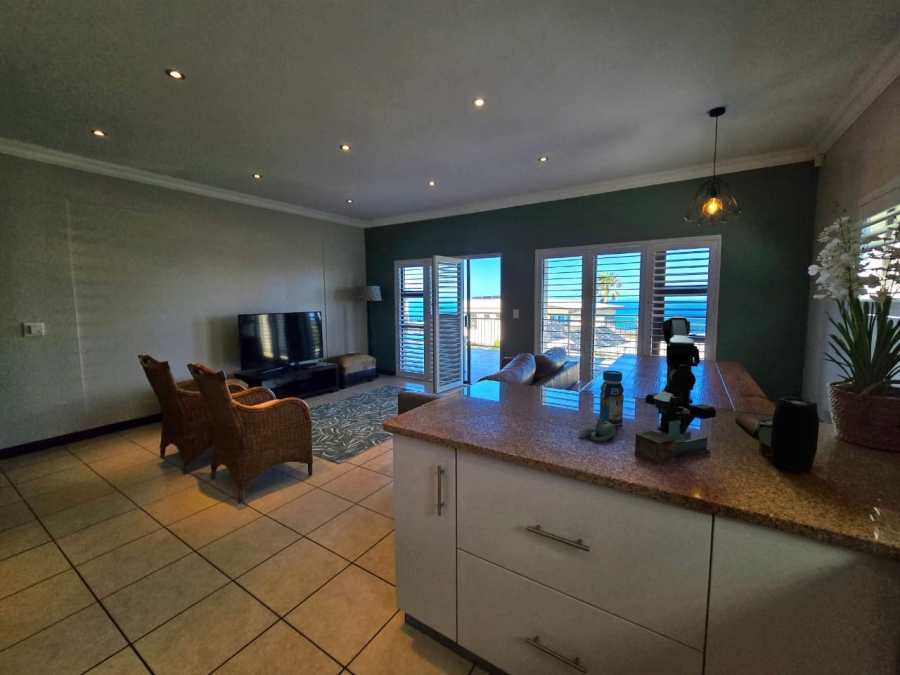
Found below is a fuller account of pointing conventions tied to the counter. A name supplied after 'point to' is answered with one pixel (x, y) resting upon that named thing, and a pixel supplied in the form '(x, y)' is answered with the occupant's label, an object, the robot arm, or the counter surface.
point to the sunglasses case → (748, 424)
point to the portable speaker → (794, 434)
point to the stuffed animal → (600, 431)
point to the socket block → (655, 447)
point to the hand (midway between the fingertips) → (676, 432)
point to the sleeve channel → (690, 447)
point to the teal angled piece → (676, 431)
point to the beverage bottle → (612, 398)
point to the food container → (764, 435)
